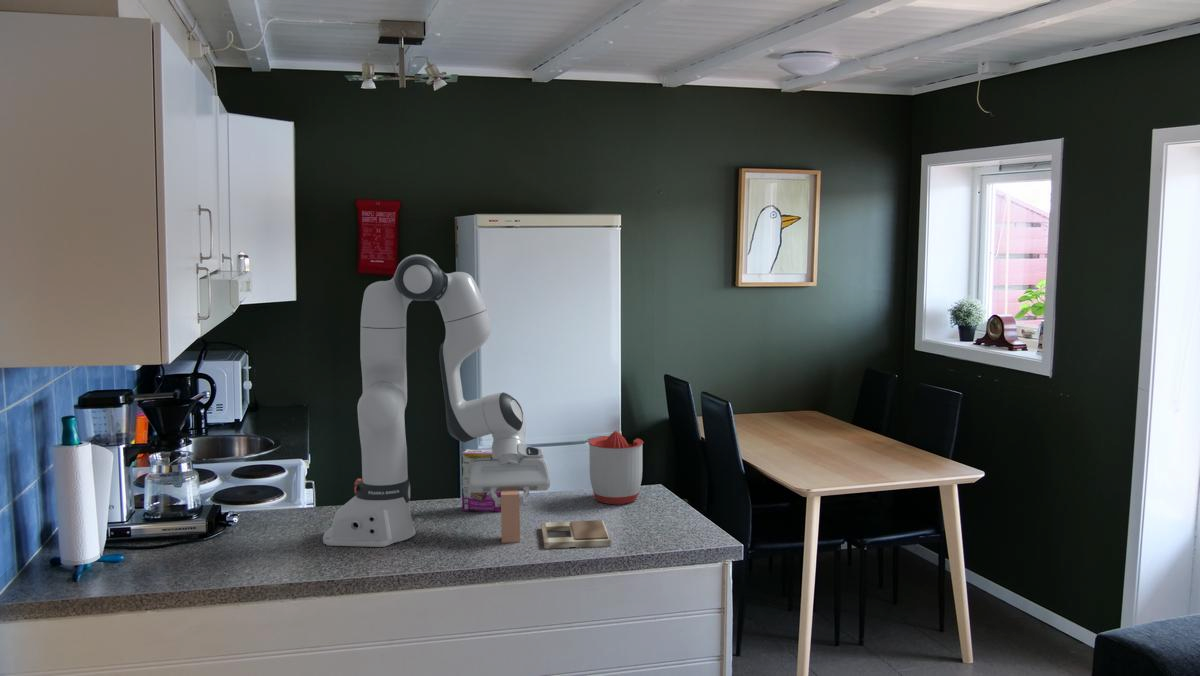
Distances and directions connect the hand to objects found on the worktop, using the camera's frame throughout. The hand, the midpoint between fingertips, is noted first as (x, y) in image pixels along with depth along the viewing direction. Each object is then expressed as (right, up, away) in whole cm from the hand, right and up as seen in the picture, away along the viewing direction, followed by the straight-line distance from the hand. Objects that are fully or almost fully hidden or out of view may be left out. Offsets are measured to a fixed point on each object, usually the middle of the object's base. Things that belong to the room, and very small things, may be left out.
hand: (510, 505), depth 229 cm
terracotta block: (0, -9, +2) cm, 9 cm away
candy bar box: (-10, -6, +28) cm, 30 cm away
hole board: (+16, -9, +3) cm, 18 cm away
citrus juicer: (+27, -5, +38) cm, 47 cm away
